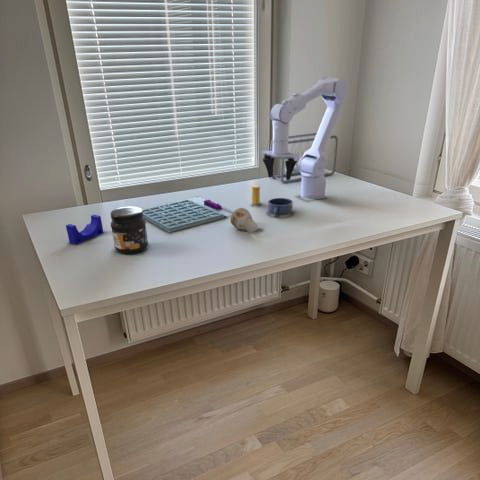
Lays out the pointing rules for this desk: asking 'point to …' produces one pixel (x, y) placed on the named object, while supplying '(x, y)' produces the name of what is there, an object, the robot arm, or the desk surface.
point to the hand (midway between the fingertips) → (279, 178)
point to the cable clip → (85, 230)
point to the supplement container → (129, 230)
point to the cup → (280, 206)
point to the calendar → (183, 213)
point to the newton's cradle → (296, 169)
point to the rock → (243, 220)
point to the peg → (255, 194)
